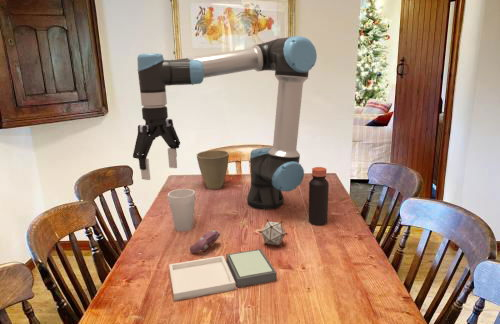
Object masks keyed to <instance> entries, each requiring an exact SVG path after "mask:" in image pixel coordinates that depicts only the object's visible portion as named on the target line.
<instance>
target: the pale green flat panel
mask: <svg viewBox="0 0 500 324" xmlns="http://www.w3.org/2000/svg"><path fill="white" fill-rule="evenodd" d="M256 250H257V249H256ZM250 251H251V250H250ZM244 252H245V251H244ZM231 254H232V253H231ZM230 260H231V262H232V264H233V266H234V268H235V270H236V272H237V274H238V276H239V278H242V277H247V276H253V275H258V274H264V273H269V272H273V271H272V269H271V268H270V266H269V265H268V263H267V262H266V260H265V258H264V257H263V255H262V254H261V252H260V251H259V250H257V251H251V252H245V253H239V254H232V255H230Z"/></svg>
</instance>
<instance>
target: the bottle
mask: <svg viewBox="0 0 500 324" xmlns="http://www.w3.org/2000/svg"><path fill="white" fill-rule="evenodd" d="M311 174H312V175H311V176H312V178H311V180H310V181H309V183H308V222H309V224H311V225H314V226H324V225H326V224H328V220H329V219H328V215H329V214H328V213H329V211H328V210H329V189H330V188H329V187H330V184H329V181H328V180H327V179H326V177H327V168H326V167H323V166H317V167H316V166H315V167H313V168H312V169H311Z"/></svg>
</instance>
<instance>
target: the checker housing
mask: <svg viewBox="0 0 500 324" xmlns="http://www.w3.org/2000/svg"><path fill="white" fill-rule="evenodd" d="M257 250H259V251H260V252H261V254H262V255H263V257H264V258H265V260H266V262H267V263H268V265H269V266H270V268H271V269H272V271H273V272H269V273H264V274H258V275H253V276H247V277H242V278H239V276H238V274H237V272H236V270H235V268H234V266H233V264H232V262H231V260H230V255H232V254H239V253H245V252H251V251H257ZM225 257H226V259H225V261H226V263H227V265H228V267H229V270H230V272H231V274H232V276H233V279H234V281H235V285H236V287H237V288H238V289H239V288H245V287H248V286H249V287H250V285H251V286H255V284H256V285H260V284H261V285H262V284H265V283H270V282H276V281H277V271H276V270H275V268H274V266H273V265H272V263H271V261H270V260H269V258H268V256H266V255H265V253H264V251H263V250H262V249H261V248H258V249H251V250H245V251H239V252H233V253H227V254H225Z"/></svg>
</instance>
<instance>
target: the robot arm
mask: <svg viewBox="0 0 500 324" xmlns="http://www.w3.org/2000/svg"><path fill="white" fill-rule="evenodd" d="M317 55H318V54H317V50H316V47H315V45H314V44H313V42H312V41H311V39H309V38H307V37H305V36H299V35H295V36H287V37H281V38H280V37H279V38H275V39H272V40H269V41H267V42H262V43H258V44H253V45H252V46H251V47H249V48H244V49H237V50H232V51H226V52H225V51H223V52H219V53H212V54H205V55H197V56H193V57H192V56H191V57H185V58H178V59H169V60H168V59H165V58H164V55H163V54H162V53H154V52H153V53H152V52H151V53H141V54H138V55H137V74H138V75H137V76H138V82H139V83H138V84H139V91H140V93H139V94H140V102H141V103H140V104H141V106H143V107H142V108H141V113H142V119H143V120H144V121H145V125H144V124H143V125H142V124H139V125H137V134H136V135H137V136H136V140H135V145H134V148H133V153H132V157H133V159H137V160H138V164H139V165H138V166H139V170H140V173H141V180H145V181H150V180H151V171H150V161H149V158H147V157H148V155H149V152H150V150H151V147H152V146H153V142H154V140H156V139H157V138H159V137H161V138H162V139H163V140H164V142H165V144H166V145H167V147H168V148H167V156H168V157H167V159H168V167H169V168H170V169H177V168H178V160H177V157H178V156H177V155H178V154H177V149H179V148H180V146H181V141H180V138H179V136H178V134H177V132H176V129H175V127H174V122H173V119H172V118H168V117H169V115H168V107H167V106H166V105H167V104H168V101H167V90H166V86H186V85H187V86H188V85H189V86H190V85H192V86H194V85H200V84H202V83H203V81H204V79H206V78H211V77H217V76H223V75H229V74H236V73H241V72H246V71H253V70H255V71H256V72H263V71H272V72H273V71H274V77H275V78H276V79H277V82H278V85H277V87H278V88H277V94H276V95H277V96H276V105H275V106H276V107H275V118H274V119H275V120H274V131H273V142H272V143H273V144H272V147H258V148H254V149H252V150H251V151H250V158H249V162H250V164H249V165H250V186H249V187H250V188H249V191H248V194H247V198H246V203H247V205H248V206H249V207H250V208H252V209H256V210H264V211H265V210H275V209H278V208H281V207H282V206H284V204H285V198H284V194H283V192H285V193H286V192H291V191H294V190H296V189H297V188H298V187H299V186H300V185H301V183H303V180H304V176H305V170H304V168H303V166H302V164H300V159H301V158H300V157H301V154H300V153H299V151H298V150H297V148H298V147H297V146H298V138H299V136H298V135H299V127H300V116H301V109H302V108H301V106H302V97H303V87H304V86H303V85H304V82H306V81H307V80H308V79H309V71H311V70H312V68H313V67H315V65H316V62H317V58H318V57H317Z"/></svg>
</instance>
